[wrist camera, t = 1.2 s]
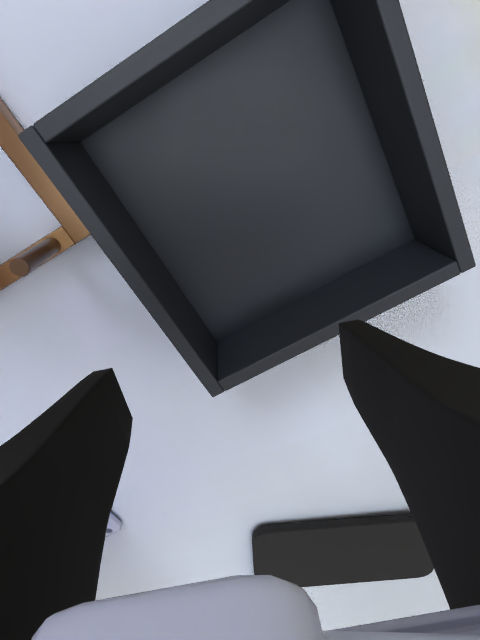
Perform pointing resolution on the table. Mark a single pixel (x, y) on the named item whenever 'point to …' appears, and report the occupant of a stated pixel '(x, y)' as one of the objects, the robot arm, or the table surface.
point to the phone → (341, 550)
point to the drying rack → (4, 133)
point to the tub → (262, 177)
